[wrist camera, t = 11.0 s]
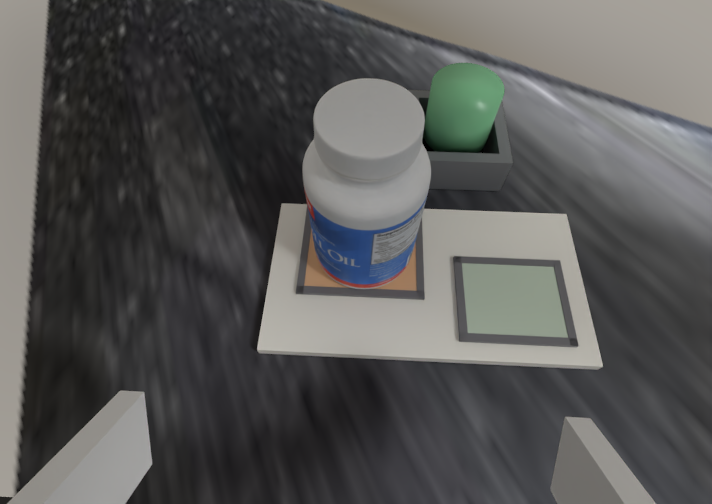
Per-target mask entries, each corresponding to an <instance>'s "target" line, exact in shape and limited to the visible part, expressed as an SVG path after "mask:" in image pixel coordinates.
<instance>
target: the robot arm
mask: <svg viewBox="0 0 712 504" xmlns="http://www.w3.org/2000/svg"><path fill="white" fill-rule="evenodd" d="M151 465H152V457H151V448H150V439H149V431H148V422H147V413H146V404H145V395H144V392H136V391H119V392H118V393H117V394H116V395H115V396H114V397H113V398H112V399H111V400H110V401H109V402H108V403H107V404H106V405H105V406H104V407H103V408H102V409H101V410H100V411H99V412H98V413H97V414H96V415H95V416H94V417H93V418H92V419H91V420H90V421H89V422H88V423H87V424H86V425H85V426H84V427H83V428H82V429H81V430H80V431H79V432H78V433H77V434H76V435H75V436H74V437H73V438H72V439H71V440H70V441H69V442H68V443H67V444H66V445H65V446H64V447H63V448H62V449H61V450H60V451H59V452H58V453H57V454H56V455H55V456H54V457H53V458H52V459H51V460H50V461H49V462H48V463H47V464H46V465H45V466H44V467H43V468H42V469H41V470H40V471H39V472H38V473H37V474H36V475H35V476H34V477H33V478H32V479H31V480H30V481H29V482H28V483H27V484H26V485H25V486H24V487H23V488H22V489H21V490H20V491H19V492H18V493H17V494H16V495H15V496H14V497H13V498H12V497H0V504H125V503H126V502H127V500H128V499H129V498H130V496H131V495H132V493H133V492H134V490H135V489H136V487H137V486H138V484H139V483H140V481H141V480H142V478H143V477H144V475H145V474H146V472H147V471H148V470H149V468H150V467H151ZM550 490H551V492H552V494H553V496H554V498H555V500H556V502H557V504H656V503H655V502H654V500H653V499H652V498H651V496H650V495H649V494H648V493H647V491H646V490H645V489H644V487H643V486H642V485H641V483H640V482H639V481H638V480H637V478H636V477H635V476H634V474H633V473H632V472H631V470H630V469H629V468H628V467H627V465H626V464H625V463H624V461H623V460H622V459H621V457H620V456H619V455H618V454H617V452H616V451H615V450H614V448H613V447H612V446H611V444H610V443H609V442H608V441H607V439H606V438H605V437H604V435H603V434H602V433H601V431H600V430H599V429H598V428H597V426H596V425H595V424H594V422H593V421H592V420H591V418H578V417H565V419H564V424H563V429H562V434H561V439H560V444H559V449H558V454H557V459H556V464H555V469H554V474H553V478H552V483H551V488H550Z"/></svg>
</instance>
